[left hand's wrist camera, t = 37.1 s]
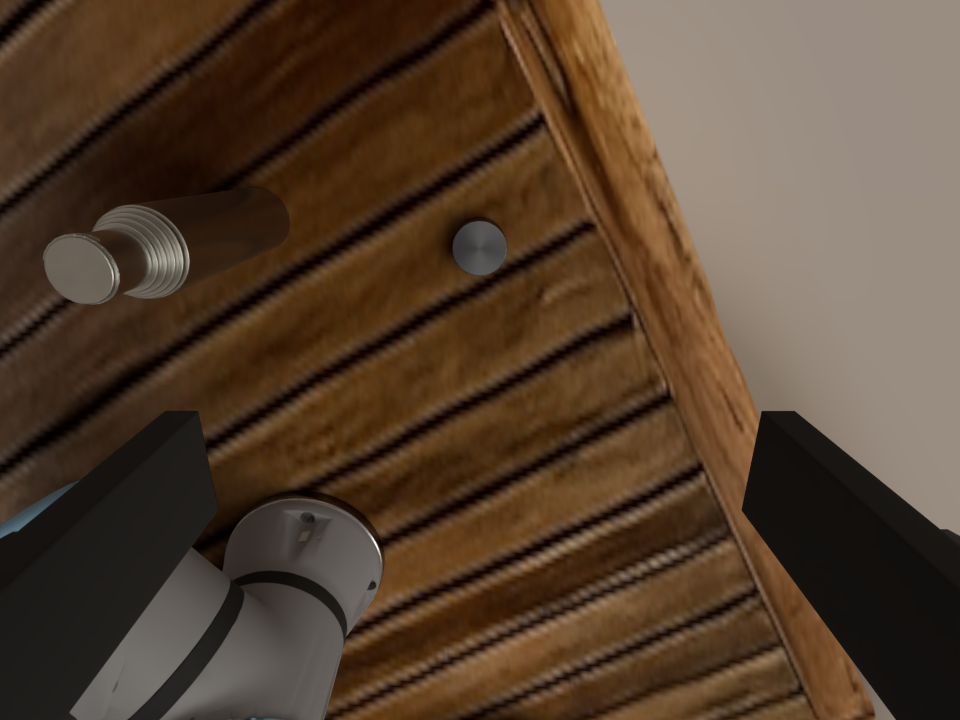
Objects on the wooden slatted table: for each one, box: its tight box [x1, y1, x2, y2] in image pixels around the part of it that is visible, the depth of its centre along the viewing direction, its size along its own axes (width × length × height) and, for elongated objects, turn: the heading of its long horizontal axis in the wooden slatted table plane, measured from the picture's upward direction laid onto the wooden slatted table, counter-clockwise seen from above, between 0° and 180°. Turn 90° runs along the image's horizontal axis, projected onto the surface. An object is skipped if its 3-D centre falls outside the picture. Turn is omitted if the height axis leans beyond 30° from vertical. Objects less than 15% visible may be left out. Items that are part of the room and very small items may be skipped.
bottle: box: [43, 187, 289, 305], centre depth 34 cm, size 5×5×21 cm
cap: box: [452, 217, 507, 276], centre depth 43 cm, size 4×4×2 cm
